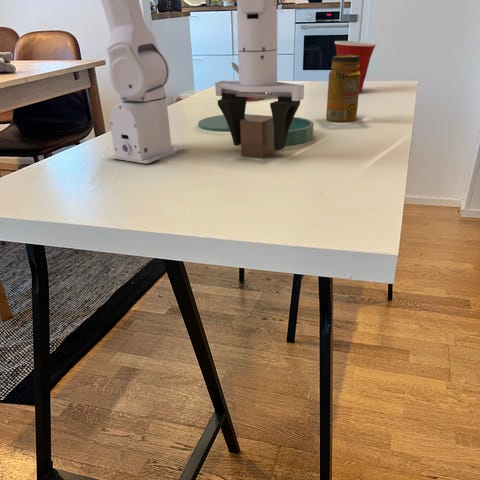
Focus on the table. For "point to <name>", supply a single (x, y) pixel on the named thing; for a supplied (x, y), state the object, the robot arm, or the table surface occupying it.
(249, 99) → the canned food
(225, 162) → the table surface
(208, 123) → the lid
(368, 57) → the plastic cup
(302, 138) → the tin
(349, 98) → the condiment
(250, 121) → the block
